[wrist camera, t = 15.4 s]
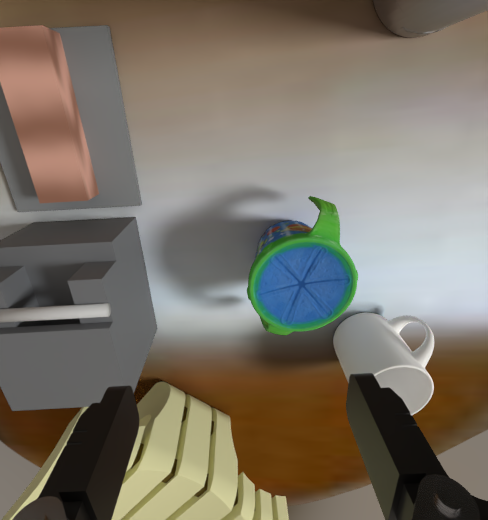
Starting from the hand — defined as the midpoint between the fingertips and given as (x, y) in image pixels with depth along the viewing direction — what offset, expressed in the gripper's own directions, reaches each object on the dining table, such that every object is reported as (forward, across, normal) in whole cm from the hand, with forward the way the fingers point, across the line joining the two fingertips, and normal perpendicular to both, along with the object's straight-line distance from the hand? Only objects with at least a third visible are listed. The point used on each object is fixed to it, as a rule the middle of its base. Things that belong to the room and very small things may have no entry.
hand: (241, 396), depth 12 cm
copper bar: (+28, +18, -10) cm, 34 cm away
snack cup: (+28, -6, +6) cm, 30 cm away
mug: (+28, -18, +19) cm, 39 cm away
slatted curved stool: (+28, +12, +35) cm, 47 cm away
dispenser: (+28, +18, +9) cm, 35 cm away
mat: (+28, +18, -9) cm, 35 cm away
